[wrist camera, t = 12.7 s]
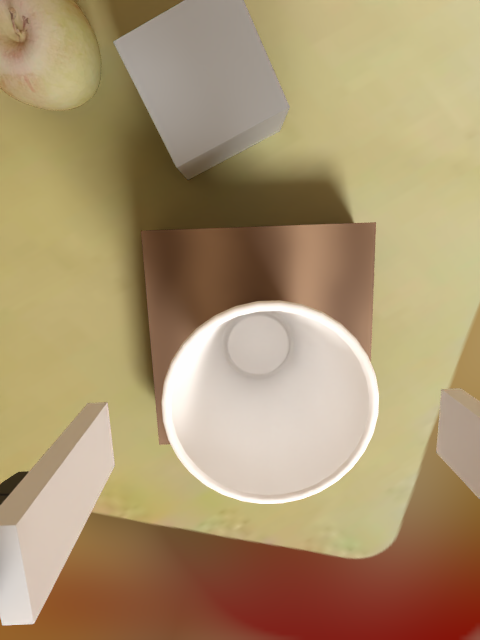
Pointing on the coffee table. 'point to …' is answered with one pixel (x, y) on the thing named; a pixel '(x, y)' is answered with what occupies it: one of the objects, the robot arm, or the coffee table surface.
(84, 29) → the fruit
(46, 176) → the coffee table surface
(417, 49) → the coffee table surface
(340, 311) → the walnut block
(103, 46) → the coffee table surface
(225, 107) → the grey block
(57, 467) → the robot arm
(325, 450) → the cup
